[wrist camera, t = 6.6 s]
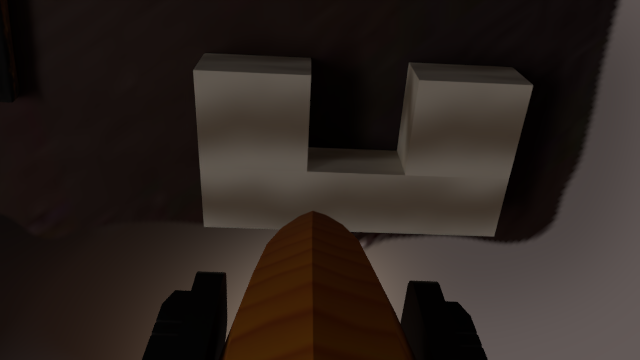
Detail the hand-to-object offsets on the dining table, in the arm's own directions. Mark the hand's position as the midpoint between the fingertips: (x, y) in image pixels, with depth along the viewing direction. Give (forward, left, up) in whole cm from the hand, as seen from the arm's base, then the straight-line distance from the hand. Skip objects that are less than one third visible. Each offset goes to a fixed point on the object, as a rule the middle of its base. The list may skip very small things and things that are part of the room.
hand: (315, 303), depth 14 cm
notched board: (+7, +3, -26) cm, 27 cm away
